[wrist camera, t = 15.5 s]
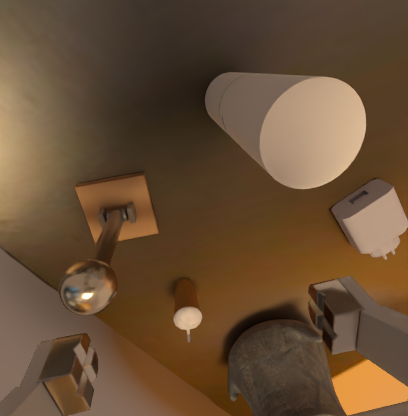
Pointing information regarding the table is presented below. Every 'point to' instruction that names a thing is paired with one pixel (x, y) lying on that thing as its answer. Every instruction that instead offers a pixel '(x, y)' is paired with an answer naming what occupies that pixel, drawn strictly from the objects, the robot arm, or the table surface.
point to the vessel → (282, 371)
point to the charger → (372, 218)
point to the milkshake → (186, 306)
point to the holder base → (119, 204)
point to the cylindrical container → (290, 123)
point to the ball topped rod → (94, 272)
